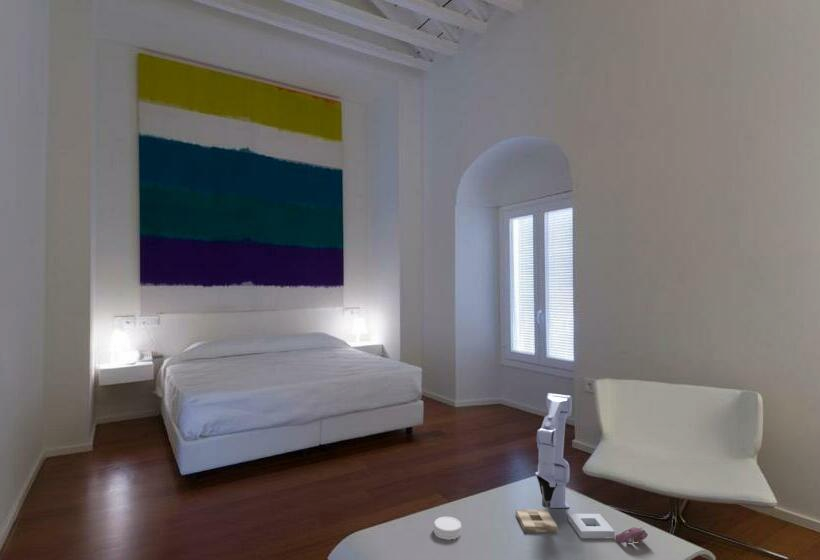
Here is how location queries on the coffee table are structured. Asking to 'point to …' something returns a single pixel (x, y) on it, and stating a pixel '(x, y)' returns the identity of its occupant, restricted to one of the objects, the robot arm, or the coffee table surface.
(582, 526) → the dock
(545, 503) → the lock pin
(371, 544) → the coffee table surface
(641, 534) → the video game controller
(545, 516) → the pin mount
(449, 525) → the white round disc
